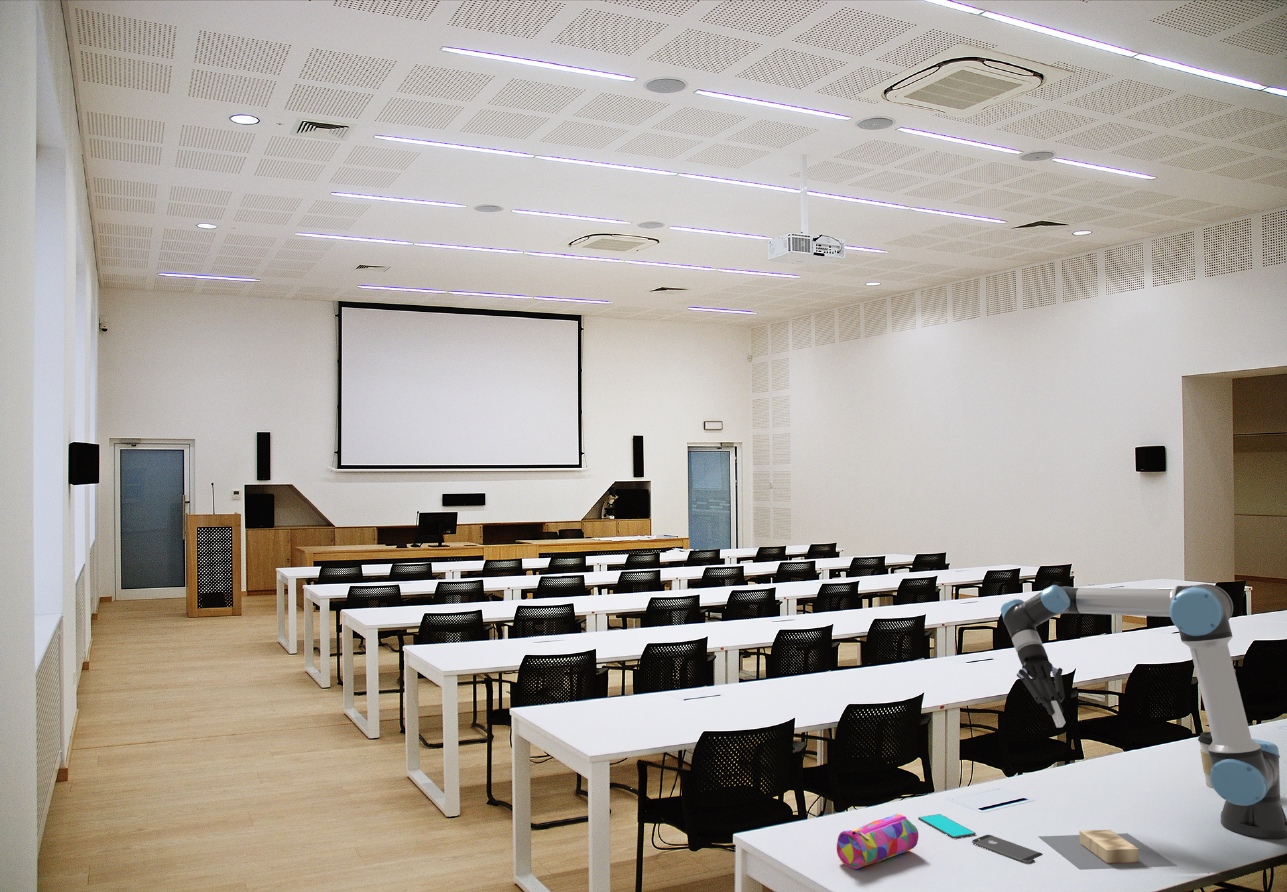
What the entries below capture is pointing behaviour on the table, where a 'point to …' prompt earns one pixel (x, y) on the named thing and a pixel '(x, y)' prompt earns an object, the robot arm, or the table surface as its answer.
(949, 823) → the smartphone
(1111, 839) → the oak block
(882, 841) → the pencil case
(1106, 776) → the table surface
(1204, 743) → the coffee cup
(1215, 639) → the robot arm
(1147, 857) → the rubber mat
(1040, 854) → the phone
